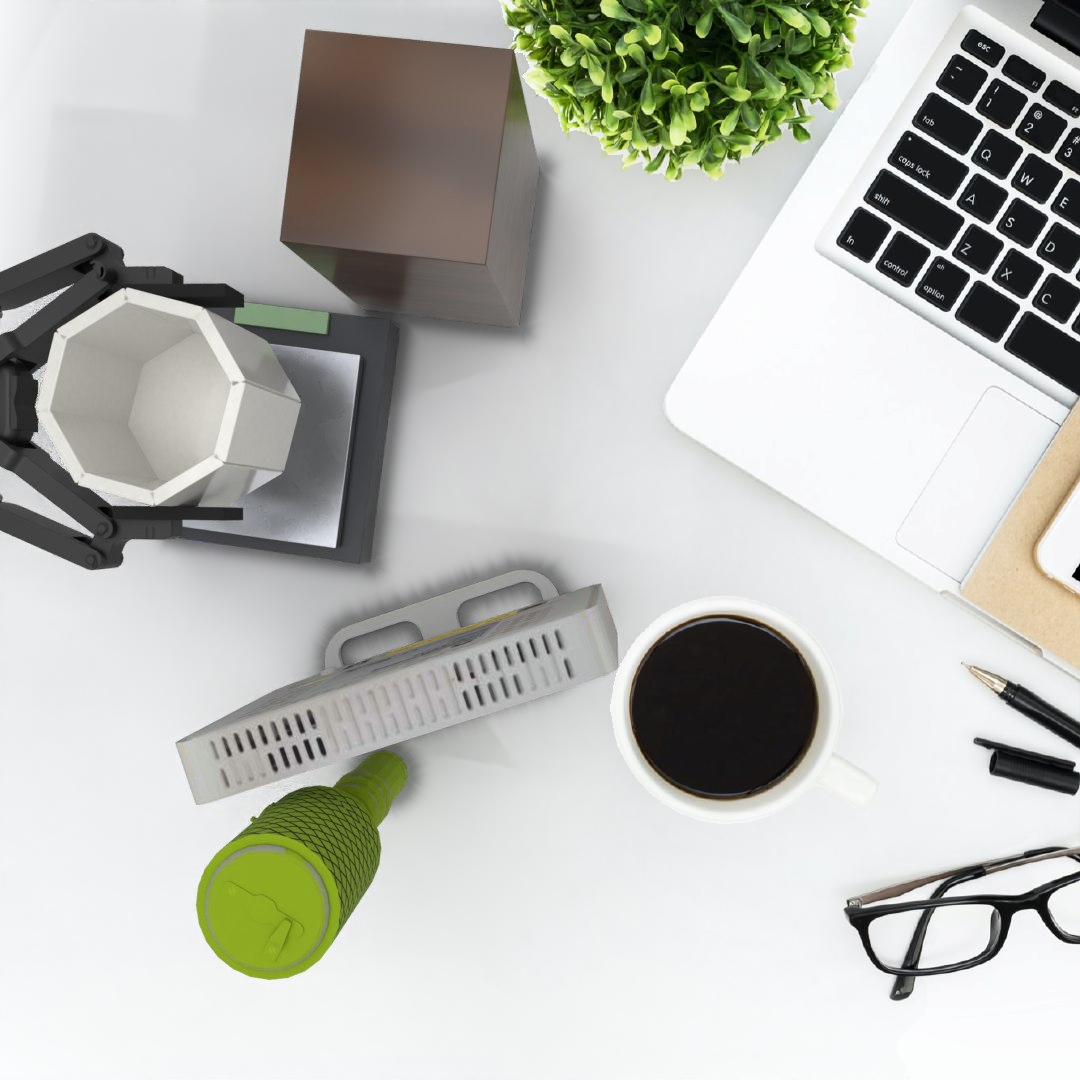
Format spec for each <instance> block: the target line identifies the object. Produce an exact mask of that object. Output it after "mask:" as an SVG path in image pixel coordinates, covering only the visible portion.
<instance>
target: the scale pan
mask: <svg viewBox="0 0 1080 1080" xmlns="http://www.w3.org/2000/svg"><path fill="white" fill-rule="evenodd" d="M269 345H270V347H271V349H272V351H273V352H274V354H275V356H276V358H277V359H278V361H279V363H280V365H281V366H282V368H283V370H284V372H285V373H286V375H287V377H288V379H289V380H290V382H291V384H292V386H293V387H294V389H295V391H296V393H297V394H298V396H299V398H300V400H301V401H300V402H299V403H301V406H300V410H299V414H298V418H297V422H296V426H295V430H294V434H293V438H292V442H291V445H290V449H289V453H288V457H287V461H286V465H285V469H284V471H282V474H280V475H278V476H277V477H275V478H273V479H272V480H270V481H268V482H267V483H265V484H263V485H262V486H260V487H258V488H257V489H255V490H253V491H252V492H250V493H248V494H247V495H245V496H243V497H242V498H240V499H238V500H237V501H235V502H233V503H232V504H230V505H228V506H227V507H239V508H243V520H230V521H220V520H183V527H188V528H195V529H202V530H209V531H216V532H223V533H230V534H237V535H244V536H251V537H258V538H265V539H272V540H280V541H287V542H294V543H301V544H308V545H315V546H322V547H329V548H340V541H341V533H342V525H343V518H344V510H345V502H346V494H347V486H348V478H349V470H350V463H351V455H352V447H353V439H354V431H355V423H356V415H357V407H358V400H359V392H360V384H361V376H362V368H363V360H364V357H362V356H361V355H356V354H348V353H340V352H332V351H324V350H316V349H308V348H300V347H292V346H284V345H276V344H269ZM175 507H176V506H175Z"/></svg>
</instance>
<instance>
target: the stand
mask: <svg viewBox="0 0 1080 1080" xmlns="http://www.w3.org/2000/svg"><path fill="white" fill-rule="evenodd" d="M299 69H300V71H299V77H298V78H299V79H298V85H297V95H296V101H295V102H296V103H295V112H294V119H293V128H292V136H291V143H290V151H289V160H288V167H287V177H286V185H285V194H284V199H283V209H282V216H281V217H282V218H281V225H280V226H281V227H280V231H279V233H280V234H279V242H281V244H282V245H284V246H285V247H286V248H287V249H288V250H290V251H291V252H293V253H294V254H295V255H296V256H297V257H298V258H300V259H301V260H302V261H304V263H306V264H307V265H309V266H310V268H313V270H314V271H315V272H317V273H318V274H320V276H321V277H323V278H324V279H326V280H327V281H328V282H329V283H330V284H332V285H333V286H334V287H335V288H336V289H338V290H339V291H340V292H341V293H343V294H344V295H345V296H346V297H347V298H349V299H350V300H352V301H353V302H354V303H355V304H356V305H357V306H358V307H360V308H361V309H362V310H364V311H370V312H380V313H386V314H387V313H388V314H395V315H405V316H413V317H422V318H427V319H436V320H437V319H438V320H445V321H452V322H453V321H454V322H462V323H470V324H476V325H477V324H479V325H484V326H485V325H486V326H495V327H503V328H511V329H519V328H520V321H521V314H522V307H523V298H524V292H525V283H526V275H527V269H528V268H527V267H528V260H529V254H530V253H529V252H530V246H531V238H532V230H533V222H534V216H535V210H536V209H535V208H536V201H537V200H536V199H537V193H538V187H539V186H538V185H539V180H540V179H539V178H540V171H541V168H540V164H539V160H538V154H537V150H536V146H535V141H534V136H533V132H532V126H531V121H530V117H529V112H528V109H527V108H528V107H527V104H526V103H527V102H526V99H525V98H526V97H525V94H524V89H523V85H522V80H521V75H520V71H519V65H518V62H517V57H516V52H515V49H513V48H504V47H503V48H502V47H494V46H483V45H473V44H464V43H463V44H462V43H454V42H443V41H442V42H441V41H433V40H423V39H413V38H402V37H394V36H393V37H392V36H384V35H383V36H381V35H373V34H364V33H363V34H362V33H351V32H342V31H332V30H331V31H330V30H321V29H312V28H311V29H310V28H306V29H305V30H304V38H303V46H302V53H301V63H300V68H299Z"/></svg>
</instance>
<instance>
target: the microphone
mask: <svg viewBox="0 0 1080 1080" xmlns="http://www.w3.org/2000/svg"><path fill="white" fill-rule="evenodd" d="M405 764H406V763H405V762H404V760H403V759H402V758H401V757H400V756H399V755H398V754H397V753H395V752H393V751H389V750H377V751H375V752H373V753H371V754H369V755H367V757H366V758H365V759H364V760H363V761H362V762H360V764H359V765H358V766H357V767H356V768H355V769H354V770H351V771H349V772H347V773H345V774H343V775H342V776H341V777H340V778H339V780H337V781H336V783H335V784H334V785H333V786H327V785H321V784H320V785H319V784H317V785H309V786H303V787H300V788H297V789H295V790H293V791H291V792H288V793H286V794H285V795H283V796H282V797H281V798H279V800H277V801H276V802H274V801H273V802H272V803H271V804H268V805H267V806H266V807H264V808H263V810H262V811H261V813H260V814H259V815H258V817H256V816H254V815H253V816H251V818H250V820H249V821H250V822H251V823H250V824H249V825H248V826H247V827H245V828H244V829H243V830H242V831H240V832H239V833H238V834H237V835H236V836H234V838H233V839H231V840H230V841H229V842H228V843H227V844H225V845H224V846H223V847H222V848H221V849H220V850H219V851H217V852H216V853H215V854H214V856H213V857H212V858H211V860H210V861H209V862H208V864H206V866H205V868H204V870H203V872H202V875H201V878H200V879H199V882H198V884H197V892H196V901H195V909H196V913H197V921H198V926H199V928H200V930H201V933H202V935H203V938H204V940H205V942H206V944H207V945H208V946H209V947H210V949H211V950H212V952H213V953H214V954H215V955H216V957H217V958H218V959H219V960H221V961H222V962H223V963H224V964H226V965H227V966H228V967H229V968H231V969H232V970H234V971H236V972H239V973H241V974H243V975H245V976H247V977H250V978H254V979H261V980H266V981H273V980H281V979H282V980H283V979H289V978H292V977H294V976H297V975H299V974H302V973H304V972H307V970H309V969H310V968H312V967H313V966H314V965H315V964H317V963H318V962H319V961H321V959H322V958H323V957H324V956H325V954H326V953H327V952H328V950H329V949H330V947H332V945H333V943H334V942H335V941H336V939H337V937H338V935H340V933H341V931H342V929H343V928H344V927H345V925H346V923H347V922H348V920H349V918H350V917H351V916H352V915H353V913H354V911H355V910H356V908H357V906H358V905H359V903H360V902H361V900H362V899H363V897H364V896H365V894H366V893H367V891H368V890H369V888H370V887H371V885H372V883H373V882H374V879H375V877H376V874H377V871H378V870H379V866H380V862H381V855H382V844H381V836H380V831H379V829H378V827H379V826H380V825H381V824H382V823H383V821H384V820H385V819H386V818H387V817H388V815H389V813H390V809H391V806H392V803H393V802H394V801H395V800H396V798H397V797H398V796H399V794H400V793H401V792H402V790H403V788H404V787H406V786H405V785H406V782H407V779H408V770H407V769H408V768H407V766H406V765H405Z"/></svg>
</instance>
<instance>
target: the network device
mask: <svg viewBox="0 0 1080 1080" xmlns="http://www.w3.org/2000/svg"><path fill="white" fill-rule="evenodd" d="M523 582H525V583H531V584H533V585H534V586H536V587H537V589H538V590H539V591H540V595H541V597H542V601H539V602H536V603H533V604H529V605H527V606H524V607H521V608H517V609H513V610H511V611H508V612H504V613H502V614H499V615H495V616H492V617H490V618H487V619H484V620H481V621H477V622H475V623H471V624H468V625H466V626H461V623H460V620H459V615H458V614H459V609H460V607H461V605H462V604H463V603H465V601H468V600H472V599H475V598H477V597H480V596H483V595H487V594H489V593H492V592H495V591H498V590H501V589H504V588H508V587H511V586H513V585H516V584H520V583H523ZM612 615H613V614H612V612H611V609H610V606H609V603H608V600H607V598H606V594H605V591H604V589H603V586H602V583H601V582H600V583H595V584H591V585H588V586H585V587H582V588H581V587H580V588H579V589H576V590H572V591H569V592H566V593H563V594H560V593H559V591H558V588H557V587H556V586H555V584H554V583H553V581H551V579H549V578H548V577H547V576H545V575H544V574H542V573H540V572H539V571H534V570H531V569H516V570H512V571H508V572H506V573H505V572H504V573H502V574H499V575H496V576H494V577H490V578H488V579H484V580H481V581H479V582H475V583H472V584H469V585H467V586H463V587H460V588H457V589H454V590H452V591H449V592H445V593H442V594H439V595H436V596H433V597H430V598H427V599H425V600H422V601H418V602H415V603H412V604H409V605H406V606H404V607H400V608H397V609H394V610H390V611H388V612H385V613H382V614H379V615H375V616H373V617H370V618H367V619H364V620H361V621H358V622H355V623H351V624H350V625H348V626H345V627H342V628H341V629H340V630H339V631H337V632H336V633H335V634H334V635H333V637H331V639H330V640H329V642H328V644H327V646H326V650H325V653H324V667H325V669H322V670H320V671H319V673H318V674H316V675H313V676H309V677H307V678H304V679H301V680H298V681H295V682H292V683H289V684H287V685H284V686H281V687H279V688H277V689H274V690H272V691H270V692H268V693H266V694H264V695H262V696H260V697H259V698H257V699H255V700H252V701H251V702H249V703H247V704H245V705H243V706H241V707H239V708H238V709H236V710H233V711H232V712H230V713H228V714H226V715H224V716H223V717H219V719H217V720H215V721H213V722H211V723H209V724H208V725H205V726H204V727H201V728H200V729H198V730H196V731H194V732H192V733H190V734H188V735H186V736H184V737H182V738H181V739H179V740H176V741H175V742H174V744H175V747H176V749H177V753H178V756H179V758H180V762H181V765H182V767H183V770H184V773H185V776H186V779H187V782H188V785H189V788H190V791H191V794H192V797H193V800H194V804H195V805H196V806H202V805H207V804H210V803H214V802H216V801H217V802H218V801H219V800H222V799H223V800H224V799H226V798H229V797H232V796H235V795H239V794H242V793H244V792H247V791H251V790H254V789H257V788H260V787H264V786H266V785H267V786H268V785H270V784H273V783H276V782H280V781H283V780H286V779H288V778H292V777H295V776H298V775H302V774H304V773H308V772H311V771H314V770H317V769H320V768H322V767H327V766H330V765H332V764H335V763H339V762H343V761H345V760H348V759H352V758H355V757H358V756H360V755H365V754H367V753H370V752H374V751H376V750H377V751H378V750H379V749H382V748H386V747H389V746H391V745H395V744H398V743H401V742H405V741H407V740H411V739H415V738H417V737H420V736H421V737H422V736H424V735H426V734H427V735H428V734H429V733H433V732H437V731H440V730H442V729H445V728H449V727H452V726H455V725H457V724H461V723H464V722H468V721H470V720H473V719H477V718H480V717H483V716H486V715H489V714H493V713H496V712H498V711H502V710H506V709H508V708H512V707H515V706H517V705H521V704H524V703H527V702H530V701H534V700H536V699H539V698H543V697H546V696H549V695H552V694H555V693H558V692H562V691H565V690H567V689H571V688H573V687H577V686H580V685H583V684H586V683H590V682H592V681H595V680H598V679H600V678H603V677H606V676H608V675H610V674H612V673H614V672H616V671H617V670H618V669H619V642H618V641H619V640H618V638H619V637H618V631H617V627H616V624H615V622H614V618H613V616H612ZM403 622H410V623H412V624H414V625H415V626H416V627H417V628H418V629H419V631H420V633H421V636H422V639H423V640H420V641H417V642H414V643H410V644H408V645H405V646H402V647H398V648H395V649H392V650H390V651H386V652H383V653H380V654H377V655H374V656H371V657H367V658H365V659H361V660H359V661H355V662H353V663H349V664H347V665H345V664H344V662H343V658H342V647H343V646H344V644H345V642H347V641H348V640H350V639H354V638H356V637H360V636H363V635H366V634H368V633H372V632H374V631H378V630H381V629H383V628H387V627H389V626H392V625H395V624H398V623H403Z"/></svg>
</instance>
